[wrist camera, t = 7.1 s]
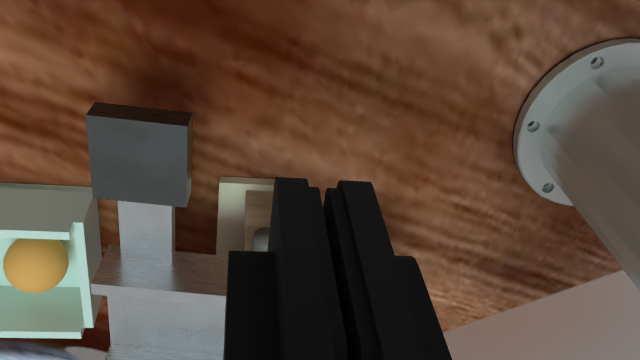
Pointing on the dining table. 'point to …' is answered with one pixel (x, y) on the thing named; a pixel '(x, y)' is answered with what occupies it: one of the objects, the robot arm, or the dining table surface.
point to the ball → (35, 264)
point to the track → (153, 239)
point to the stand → (244, 214)
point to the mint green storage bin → (83, 252)
